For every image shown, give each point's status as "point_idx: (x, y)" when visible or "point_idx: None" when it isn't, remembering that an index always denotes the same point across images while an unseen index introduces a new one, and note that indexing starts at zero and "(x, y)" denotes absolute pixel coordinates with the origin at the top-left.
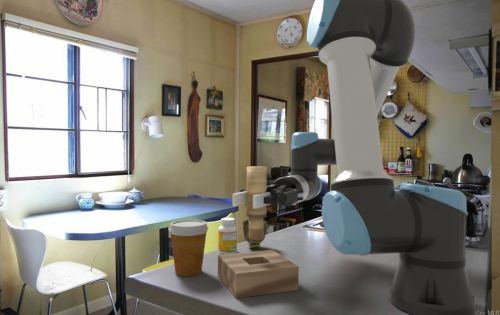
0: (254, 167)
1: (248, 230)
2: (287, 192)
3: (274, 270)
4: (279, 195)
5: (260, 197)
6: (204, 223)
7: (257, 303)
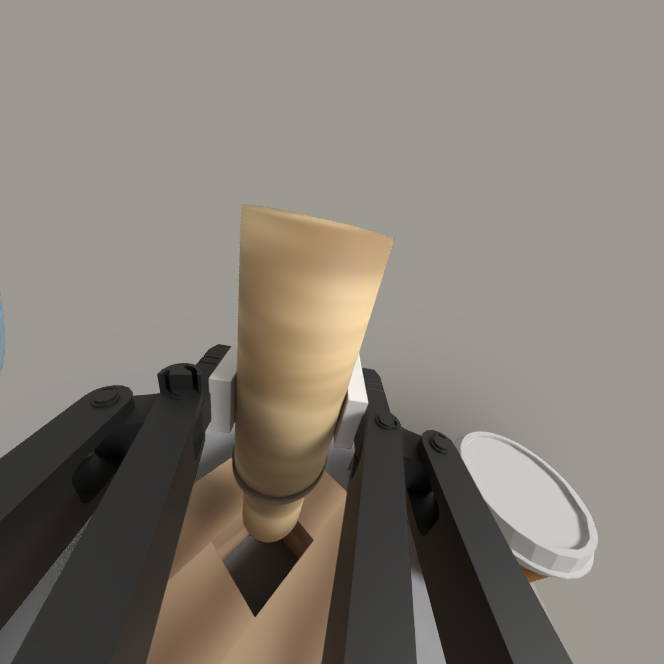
0: (305, 215)
1: None
2: (11, 468)
3: (196, 482)
4: (137, 410)
5: None
6: (489, 499)
7: (231, 450)
